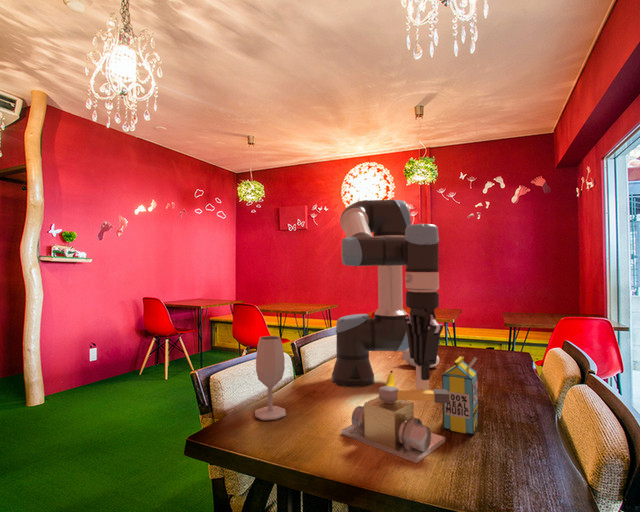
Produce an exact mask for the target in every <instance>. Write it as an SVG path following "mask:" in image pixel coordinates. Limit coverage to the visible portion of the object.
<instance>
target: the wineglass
mask: <svg viewBox="0 0 640 512" xmlns="http://www.w3.org/2000/svg"><path fill="white" fill-rule="evenodd" d="M258 339H259V340H258V343H257V348H256V354H255V355H256V356H255V371H256V375H257V380H258V381H259V382H261V383H262V384H263V385H264V386H265V387H266V388H267V406H264V407H261V408H258V409H255V411H254V417H255V418H256V419H258V420H261V421H276V420H279V419H282V418H284V417H286V416H287V413H286V408H283V407H281V406H278V405H273V404H274V403H273V402H274V401H273V400H274V398H273V391H274V390H273V388H274V387H276V385H277V384H279V382H281V381H282V380H283V378H284V374H285V373H284V372H285V369H286V367H285V365H286V364H285V359H286V358H285V354H284V353H285V351H284V347H283V346H284V345H283V342H282V339H281V336H278V335H266V336H265V335H264V336H259V338H258Z"/></svg>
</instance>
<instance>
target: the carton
mask: <svg viewBox="0 0 640 512" xmlns="http://www.w3.org/2000/svg"><path fill="white" fill-rule="evenodd" d="M464 358H465V356H459V357H458V358H457V359H456V360H454V365H452V366H450V367H449V368H448V369H446V371H445V372H444V373H442V375H441V380H442V382H441V383H442V384H441V385H442V387H441V389H444V390H447V391H448V393H449V403H442V426H443V427H442V428H443V429H442V430H443V431H448V432H451V433H452V432H453V433H457V434H462V435H466V436H471V437H474V436H475V434H476V432H477V429H478V428H479V400H478V399H479V394H478V388H479V387H478V386H479V385H478V372H477V370H475V369H474V368H472V367H473V366H474V364H475V363H476V361H477V360H478V357H476V356H474V357H473V359H472V360H471V361H470V363H466V362H465V361H464Z"/></svg>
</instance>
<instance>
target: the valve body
mask: <svg viewBox="0 0 640 512" xmlns="http://www.w3.org/2000/svg"><path fill="white" fill-rule="evenodd" d="M414 405H415V404H414V401H412V400H399V399H398V400H397V401H383V400H381V399H379V396H377V397H374V398H372V399H370V400H368V401H366V402H364V404H363V406H362V405H357V406H356V407H355V408H354V410H353V411H352V413H351V424H349V425H348V426H346V427H344V428H342V429H341V430H340V434H341V435H342V436H345V437H348V438H350V439H353V440H356V441H358V442H361V443H363V444H366V445H369V446H371V447H373V448H376V449H379V450H381V451H384V452H386V453H389V454H391V455H394V456H397V457H399V458H402V459H404V460H406V461H407V460H408V461H410V462H413V463H415V464H418V463H419V462H420V461H421V460H423V459H424V458H426V457H427V456H428V455H429V454H431V453H432V452H434V451H435V450H437V448H439V447H440V446H441V445H443V444H444V443H445V442H446V436H443V435H440V434H437V433H433V432H432V430H431V428H430V427H429V426H427V425H424V424H423V422H422V420H421V419H420V418H417V417H415V415H414V411H415V410H414Z"/></svg>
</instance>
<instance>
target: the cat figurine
mask: <svg viewBox="0 0 640 512" xmlns="http://www.w3.org/2000/svg"><path fill="white" fill-rule="evenodd" d="M401 353H402V354H403V355H402V356H401V359H402V360H403V361H405V362H407V364H409V365H410V366H411V367H414V368H416V363H415V362H414V359H411V358H410V353H409V348H408V349H407V350H405V351H401ZM439 363H440V357H439V355H438V354H437V360H436V364H433V365H430V368H434V367H436V366H437V365H439Z"/></svg>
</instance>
